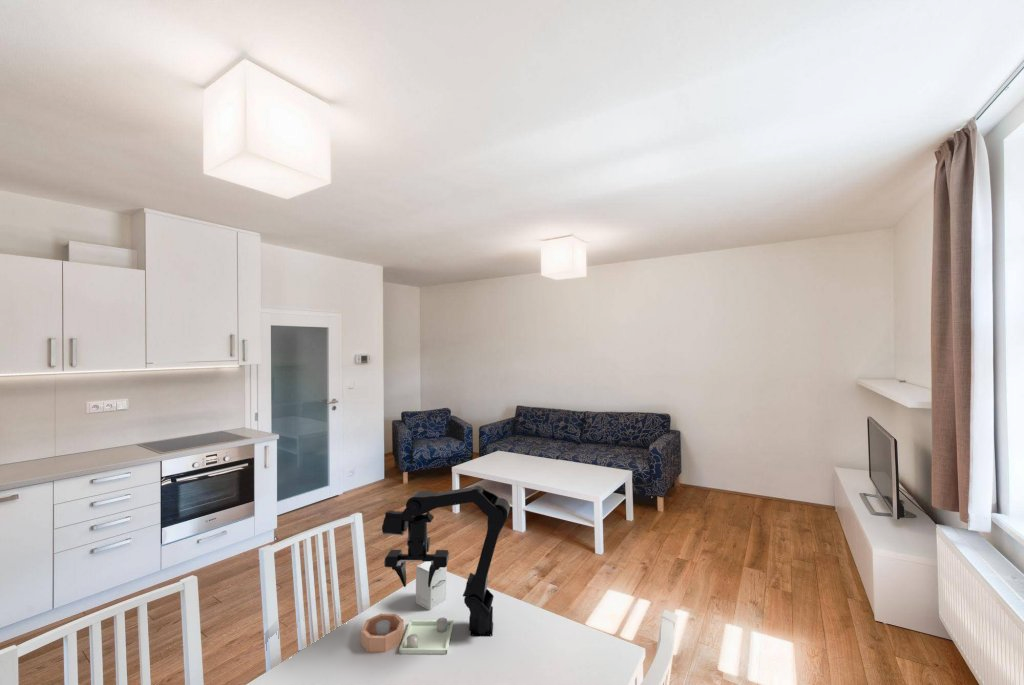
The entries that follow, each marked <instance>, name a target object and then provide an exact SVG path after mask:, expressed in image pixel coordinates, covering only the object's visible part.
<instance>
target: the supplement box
mask: <svg viewBox="0 0 1024 685" xmlns="http://www.w3.org/2000/svg"><path fill="white" fill-rule="evenodd" d="M430 565H431V561H423V562H422V563H420V564H418V565H416V568H415V571H416V572H415V604H417V605H418V606H421V607H423V608H424V609H425V610H426V609H427V610H429V611H432V610H434V609H435V608H436V607H438V606H440V605H441V604H443V603H444V602H446V601H447V570H448V569H447V567H440V569H439V570H436V571H435V573H434V575H433V578H432V581H431V585H430V587H428V578H429V568H430Z"/></svg>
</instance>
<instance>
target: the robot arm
mask: <svg viewBox="0 0 1024 685" xmlns="http://www.w3.org/2000/svg"><path fill="white" fill-rule="evenodd" d="M470 503H473V504H474V505H476V506H477V508H478V509H479V510H481V512H482V513H483V514H484V515H486V516H487V526H486V528H487V529H486V530H487V531H486V535H485V538H484V540H483V541H484V542H483V546H482V549H481V552H480V557H479V560H478V563H477V567H476V570H475V572H474V573H472V572H469V575H468V578H467V580H466V584H465V589H464V592H463V594H462V597H464V604H465V605H466V607H467V608H468V609H469V617H468V618H469V621H468V622H469V627H468V630H469V632H470V636H471V637H490V638H491V637H493V635H494V634H493V632H494V621H493V618H494V614H493V613H494V612H493V611H494V607H493V606H492V604H493V601H494V594H493V593H492V592H491V591H490V590H489V589H488V580H489V579H488V578H489V576H488V575H489V570H490V567H491V563H492V559H493V557H494V553H495V549H496V547H497V543H498V539H499V535H500V533H501V531H502V530H503V528H504V526H505V524H506V521H507V520H508V516H509V513H510V509H511V508H510V506H511V505H510V503H509V500H507V499H506V498H503V497H499V496H498V495H497V494H495V493H493V492H491V491H489V490H486V489H485V488H483V487H482V486H481V485H473V486H469V487H464V488H463V487H462V488H459V489H458V488H457V489H451V490H445V491H440V492H435V491H431V490H419V491H418V490H417V491H415V492H414V493H413V494H412V495H411V496H410V497H409V498H408V499H407V501H406V504H405V508H404V509H403V511H395V510H390V509H388V510H386V512H384V514H385V515H384V518H383V522H382V525H381V532H382V534H383V535H394V536H395V535H396V536H403V535H404V533H405V532H407V541H406V543H407V553H406V554H405V553H404V554H403V550H402V549H390V550H389V551H388V552H387V554H386V555H385V557H384V562H383V564H384V567H385V568H391V570H392V571H395V572H396V574H397V575H398V577H399V579H400V581H401V583H402V586H403V588H406V587H407V569H406V568H407V567H406V563H407V562H426V561H431V565H430V568H429V578H428V587H430V585H431V581H432V578H433V575H434V573H435V571H436V570H439V569H440V567H447V566H448V563H449V559H450V552H449V550H448V549H436V550H435V553H432V554H428V552H430V547H431V546H430V545H431V537H429V536H428V523H431V522H432V521H433V520H434V518H435V517H434V515H433V514H432V513H430V512H431V511H433V510H435V509H437V508H439V509H440V508H444V507H445V508H446V507H452V506H457V505H463V504H464V505H465V504H470Z"/></svg>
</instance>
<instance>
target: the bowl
mask: <svg viewBox="0 0 1024 685" xmlns="http://www.w3.org/2000/svg"><path fill="white" fill-rule="evenodd" d="M381 620H388V621H389V622H390V633H389V634H387V635H385V636H376V624H377V623H378V622H379V621H381ZM404 622H405V621H404V619H403V618H402V617H401V616H400V615H398V614H397V613H379V614H377V615H374V616H373V617H370V618H367V619H366V620H365V622H364V624H363V626H362V627H361V632H360V644H361V646H362V647H363V648H364V649H365V650H366V651H367V652H368V653H387V652H388V651H390V650H391V649H393V648H395V647H397V646H399V645H401V643H402V640H403V638H404V635H405V633H404V631H405V630H404V629H405V628H404V624H405V623H404Z"/></svg>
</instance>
